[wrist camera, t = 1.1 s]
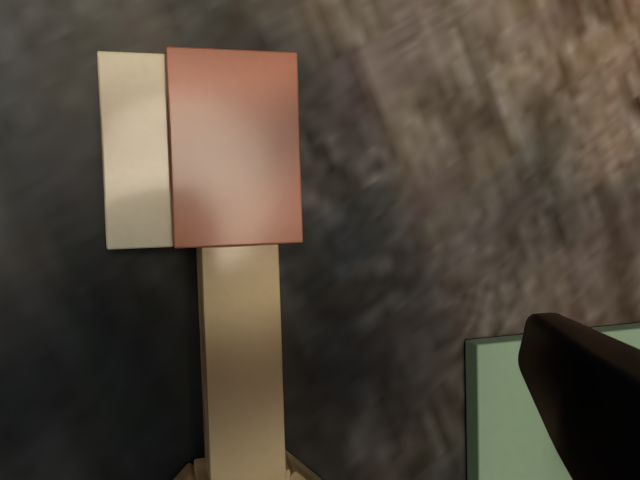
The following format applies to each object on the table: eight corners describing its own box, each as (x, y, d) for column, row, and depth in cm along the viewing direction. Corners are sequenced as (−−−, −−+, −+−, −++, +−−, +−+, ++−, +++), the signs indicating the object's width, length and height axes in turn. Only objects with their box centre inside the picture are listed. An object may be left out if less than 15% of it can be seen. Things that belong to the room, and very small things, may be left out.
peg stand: (640, 513, 26) (839, 639, 18) (467, 550, 24) (611, 710, 16) (641, 322, 26) (845, 368, 18) (464, 339, 23) (611, 401, 16)
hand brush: (347, 637, 23) (376, 704, 19) (131, 689, 20) (126, 774, 17) (332, 77, 21) (360, 55, 18) (101, 69, 19) (89, 42, 16)
